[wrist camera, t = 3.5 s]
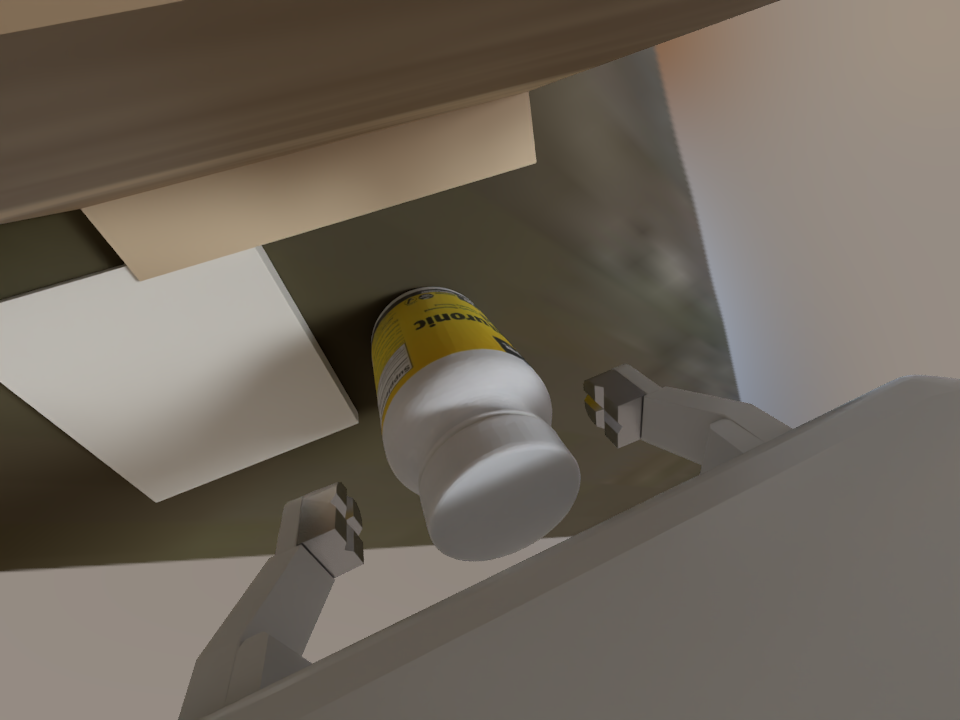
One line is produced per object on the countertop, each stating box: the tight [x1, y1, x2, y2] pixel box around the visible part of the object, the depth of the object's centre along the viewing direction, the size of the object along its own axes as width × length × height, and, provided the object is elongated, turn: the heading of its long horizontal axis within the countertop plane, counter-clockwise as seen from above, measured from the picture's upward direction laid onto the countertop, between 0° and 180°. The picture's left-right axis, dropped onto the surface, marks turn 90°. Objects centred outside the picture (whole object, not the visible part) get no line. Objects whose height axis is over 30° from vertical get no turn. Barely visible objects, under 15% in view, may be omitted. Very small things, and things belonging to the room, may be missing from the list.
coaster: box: [0, 245, 359, 503], centre depth 13 cm, size 9×9×1 cm
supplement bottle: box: [371, 287, 581, 561], centre depth 12 cm, size 5×5×10 cm
